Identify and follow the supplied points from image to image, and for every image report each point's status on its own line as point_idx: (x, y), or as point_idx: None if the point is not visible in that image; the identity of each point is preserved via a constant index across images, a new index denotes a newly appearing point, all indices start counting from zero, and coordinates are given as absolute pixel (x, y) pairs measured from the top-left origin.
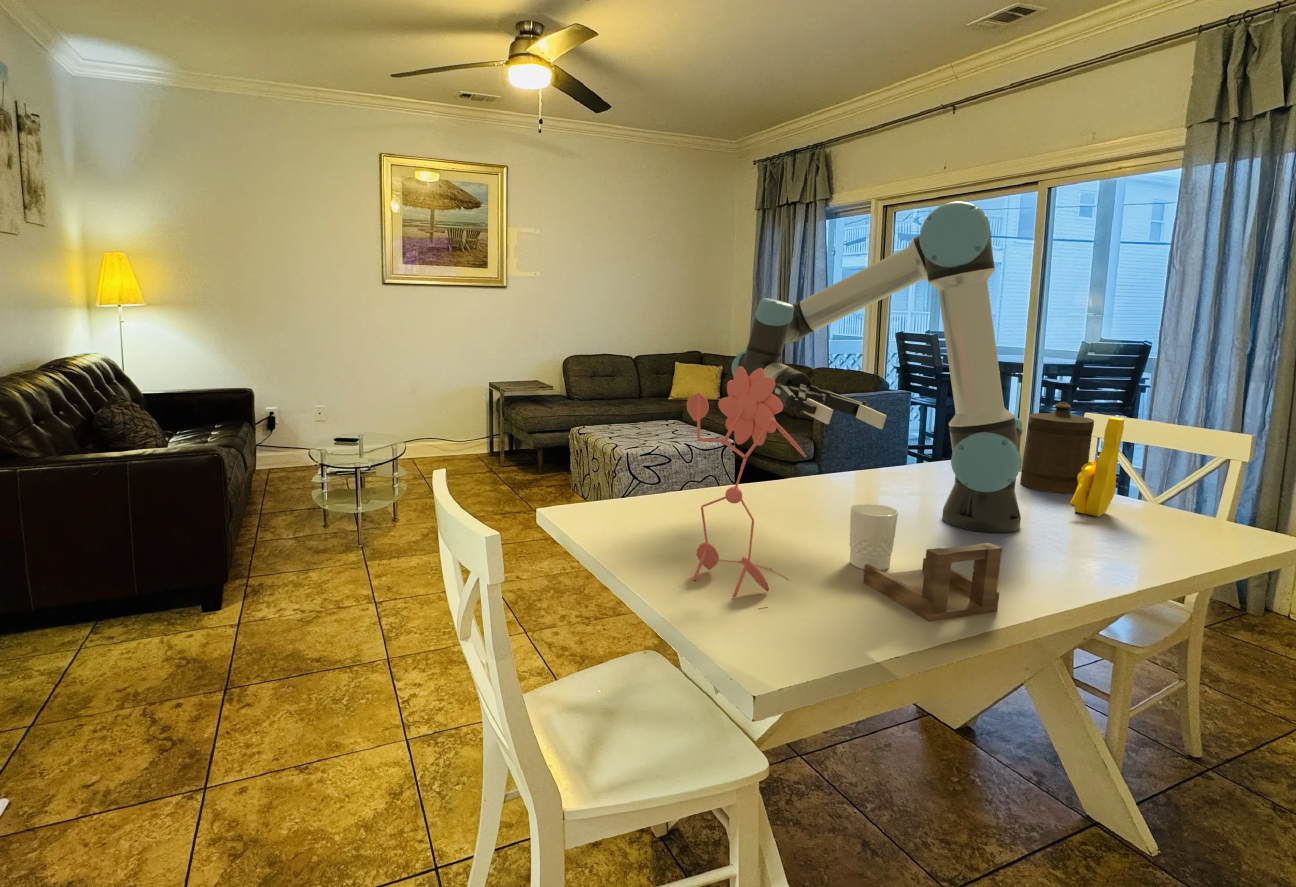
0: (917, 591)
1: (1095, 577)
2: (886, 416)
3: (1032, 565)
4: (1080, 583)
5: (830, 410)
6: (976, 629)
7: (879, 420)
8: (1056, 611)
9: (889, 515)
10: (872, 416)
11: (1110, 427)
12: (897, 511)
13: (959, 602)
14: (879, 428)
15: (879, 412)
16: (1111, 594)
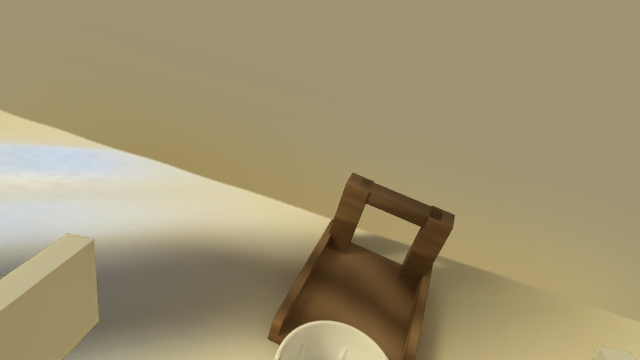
0: (422, 283)
1: (92, 175)
2: (66, 240)
3: (80, 232)
4: (136, 186)
5: (623, 357)
6: (391, 244)
7: (80, 292)
8: (269, 199)
9: (349, 326)
10: (23, 340)
11: None
12: (300, 326)
13: (360, 261)
14: (97, 319)
15: (23, 270)
16: (159, 165)
